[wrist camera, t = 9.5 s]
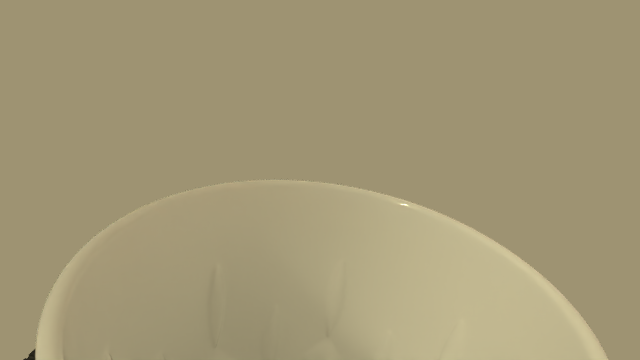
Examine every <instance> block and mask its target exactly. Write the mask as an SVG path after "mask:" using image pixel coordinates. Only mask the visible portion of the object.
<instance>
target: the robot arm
mask: <svg viewBox="0 0 640 360" xmlns="http://www.w3.org/2000/svg"><path fill="white" fill-rule="evenodd" d="M24 360H35V350H34V351H32V352H31V353H30V354H29V357H28V358H27V359H26V358H25V359H24Z"/></svg>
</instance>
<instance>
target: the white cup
mask: <svg viewBox="0 0 640 360" xmlns="http://www.w3.org/2000/svg"><path fill="white" fill-rule="evenodd" d="M35 360H609V359H608V357H607V355H606V353H605V351H604V349H603V347H602V346H601V344H600V342H599V340H598V339H597V337H596V336H595V334H594V333H593V331H592V330H591V328H590V327H589V325H588V324H587V323H586V321H585V320H584V319H583V318H582V316H581V315H580V314H579V312H578V311H577V310H576V309H575V308H574V306H573V305H572V304H571V303H570V302H569V301H568V300H567V299H566V298H565V297H564V295H563V294H562V293H561V292H560V291H559V290H558V289H557V288H556V287H555V286H553V285H552V284H551V283H550V282H549V281H548V280H547V279H546V278H545V277H544V276H542V275H541V274H540V273H539V272H538V271H537V270H535V269H534V268H533V267H532V266H530V265H529V264H528V263H526V262H525V261H524V260H523V259H521V258H520V257H518V256H517V255H515V254H514V253H513V252H511V251H509V250H508V249H507V248H505V247H504V246H502V245H501V244H499V243H497V242H496V241H494V240H493V239H491V238H489V237H487V236H486V235H484V234H482V233H480V232H479V231H477V230H475V229H473V228H471V227H469V226H467V225H465V224H463V223H461V222H459V221H457V220H455V219H453V218H451V217H448V216H446V215H444V214H441V213H439V212H437V211H434V210H432V209H429V208H426V207H424V206H421V205H418V204H415V203H413V202H410V201H406V200H403V199H400V198H397V197H393V196H390V195H386V194H382V193H378V192H375V191H370V190H365V189H361V188H356V187H351V186H345V185H339V184H332V183H325V182H315V181H304V180H249V181H238V182H229V183H222V184H216V185H210V186H205V187H200V188H196V189H192V190H188V191H184V192H180V193H177V194H174V195H171V196H168V197H165V198H162V199H159V200H157V201H154V202H152V203H149V204H147V205H145V206H143V207H141V208H138V209H136V210H134V211H132V212H130V213H129V214H127V215H125V216H123V217H121V218H120V219H118V220H116V221H115V222H113V223H112V224H110V225H109V226H107V227H106V228H105V229H103V230H102V231H100V232H99V233H98V234H97V235H95V236H94V237H93V238H92V239H91V240H90V241H88V243H86V244H85V245H84V246H83V247H82V248H81V249H80V250H79V251H78V252H77V253H76V254H75V256H74V257H73V258H72V259H71V260H70V261H69V263H68V264H67V265H66V266H65V268H64V269H63V271H62V272H61V273H60V275H59V277H58V278H57V280H56V281H55V283H54V285H53V287H52V289H51V291H50V293H49V295H48V297H47V299H46V302H45V305H44V307H43V310H42V314H41V317H40V321H39V325H38V331H37V337H36V348H35Z"/></svg>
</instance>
